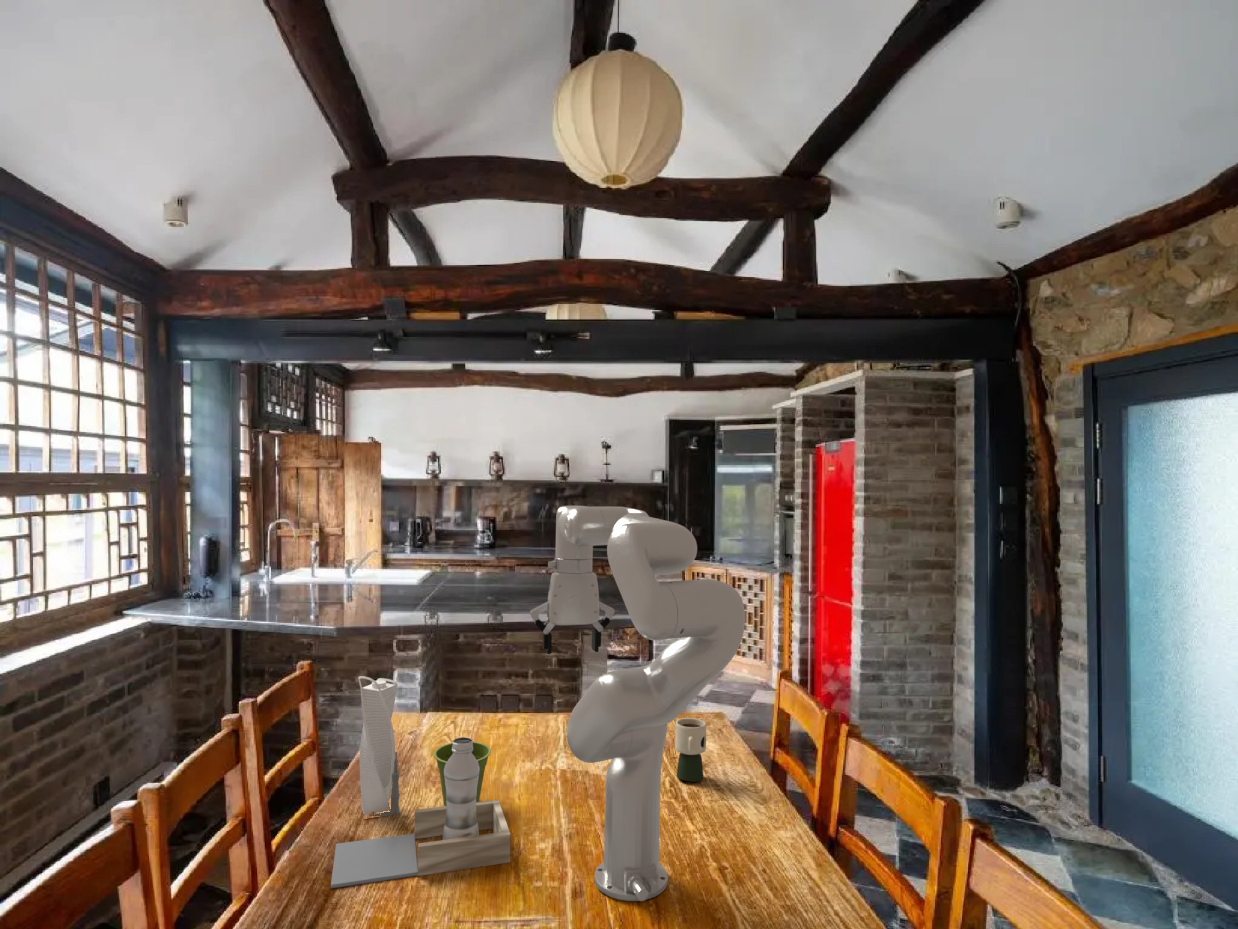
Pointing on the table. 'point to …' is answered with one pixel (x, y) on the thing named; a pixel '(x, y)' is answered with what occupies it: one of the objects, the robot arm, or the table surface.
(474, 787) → the plastic bottle
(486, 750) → the plant pot
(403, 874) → the tile
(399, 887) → the table surface
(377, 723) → the skyscraper
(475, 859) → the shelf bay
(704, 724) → the character mug
